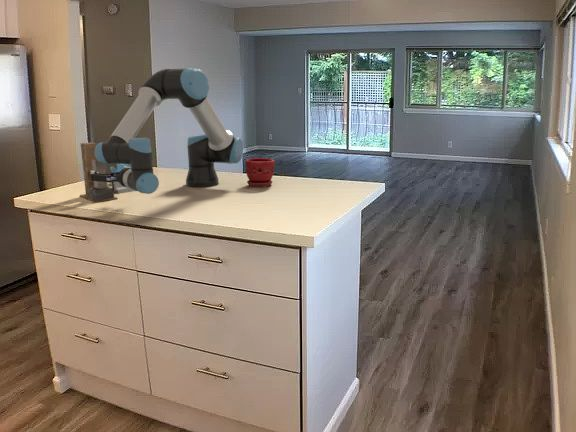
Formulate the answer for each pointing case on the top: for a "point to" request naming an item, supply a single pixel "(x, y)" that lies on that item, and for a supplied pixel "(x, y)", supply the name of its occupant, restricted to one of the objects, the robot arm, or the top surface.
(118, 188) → the hinge
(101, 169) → the grey rectangular block
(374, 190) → the top surface
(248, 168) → the plant pot
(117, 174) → the robot arm
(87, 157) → the dark brown bookend
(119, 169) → the teapot
